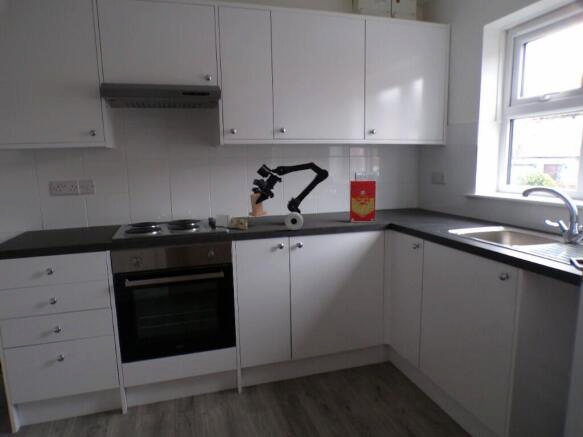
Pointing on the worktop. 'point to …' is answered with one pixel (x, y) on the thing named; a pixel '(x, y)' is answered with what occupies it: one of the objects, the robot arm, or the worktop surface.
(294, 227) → the donut
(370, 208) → the food packaging
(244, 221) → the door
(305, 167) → the robot arm
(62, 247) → the worktop surface
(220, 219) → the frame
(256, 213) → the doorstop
